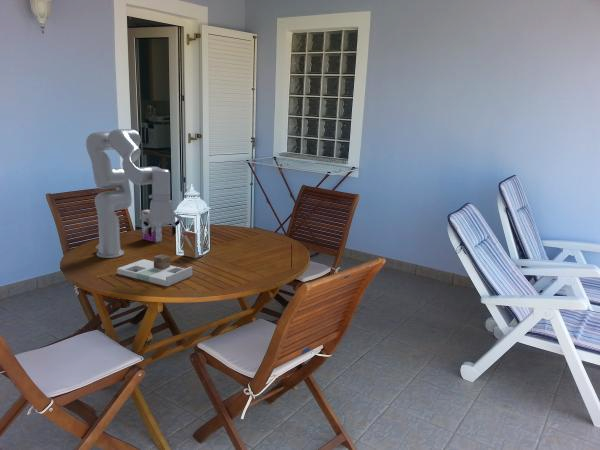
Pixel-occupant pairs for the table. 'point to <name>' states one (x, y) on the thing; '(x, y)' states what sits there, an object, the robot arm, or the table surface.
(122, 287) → the table surface
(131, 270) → the deck
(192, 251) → the small box
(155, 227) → the candy bar box
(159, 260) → the walnut block
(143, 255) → the table surface
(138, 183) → the robot arm
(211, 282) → the table surface
